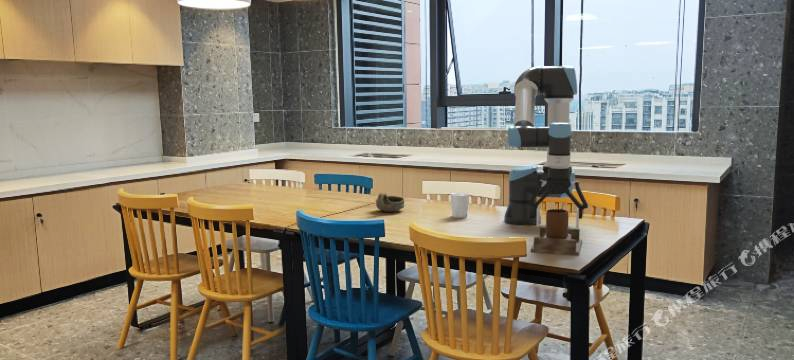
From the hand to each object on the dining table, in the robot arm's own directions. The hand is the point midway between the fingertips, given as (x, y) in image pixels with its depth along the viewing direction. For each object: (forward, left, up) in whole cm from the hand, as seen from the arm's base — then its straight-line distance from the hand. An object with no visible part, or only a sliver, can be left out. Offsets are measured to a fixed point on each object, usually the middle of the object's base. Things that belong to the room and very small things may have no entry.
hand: (557, 226), depth 224 cm
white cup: (-46, +43, -8) cm, 63 cm away
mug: (0, 0, -4) cm, 4 cm away
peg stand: (0, 0, -7) cm, 7 cm away
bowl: (-80, +44, -8) cm, 92 cm away
